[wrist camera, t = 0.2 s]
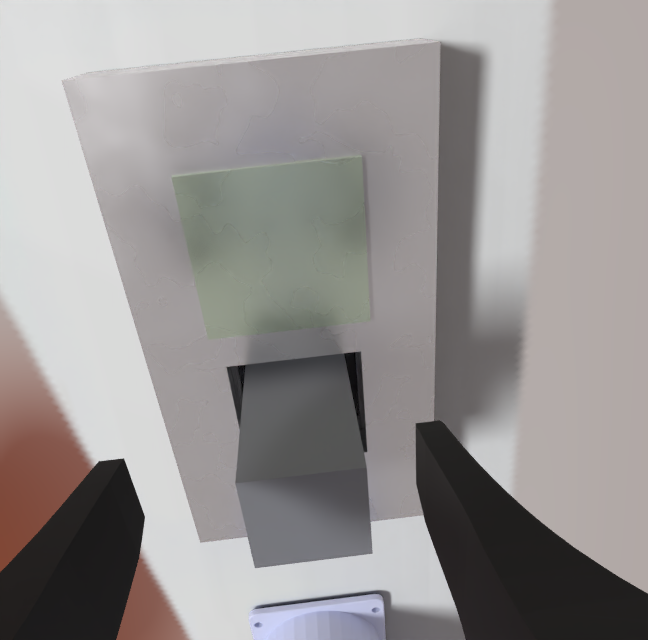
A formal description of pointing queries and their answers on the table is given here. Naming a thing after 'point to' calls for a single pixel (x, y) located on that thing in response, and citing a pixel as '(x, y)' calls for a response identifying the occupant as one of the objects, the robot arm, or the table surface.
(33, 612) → the robot arm
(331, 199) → the plate
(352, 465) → the grey rectangular block
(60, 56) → the table surface
